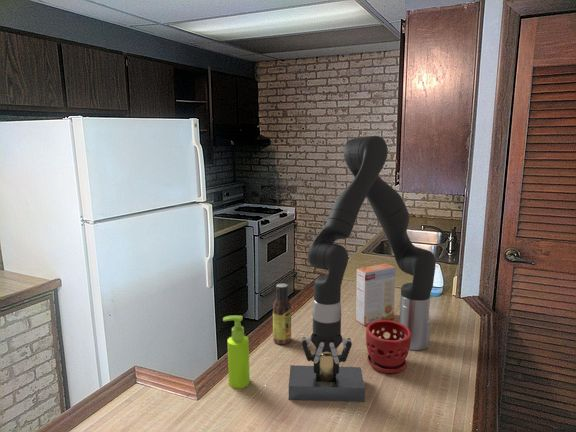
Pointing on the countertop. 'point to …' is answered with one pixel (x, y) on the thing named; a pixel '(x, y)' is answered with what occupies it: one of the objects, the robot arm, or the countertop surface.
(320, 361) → the gold cylinder
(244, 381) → the soap dispenser
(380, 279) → the cracker box
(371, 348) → the plant pot
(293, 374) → the jig
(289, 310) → the sauce bottle
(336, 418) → the countertop surface
